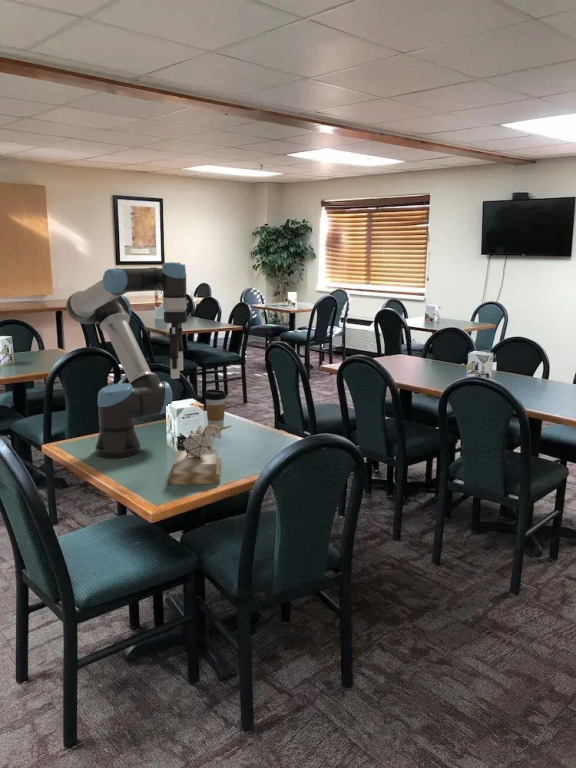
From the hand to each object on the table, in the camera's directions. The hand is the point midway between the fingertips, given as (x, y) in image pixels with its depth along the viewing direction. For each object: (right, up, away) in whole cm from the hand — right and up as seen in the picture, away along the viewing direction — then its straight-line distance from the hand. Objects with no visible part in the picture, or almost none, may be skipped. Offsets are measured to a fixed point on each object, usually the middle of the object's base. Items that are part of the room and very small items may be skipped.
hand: (177, 374), depth 207 cm
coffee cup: (+8, -21, +40) cm, 46 cm away
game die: (+8, -26, -13) cm, 31 cm away
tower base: (+8, -32, -12) cm, 35 cm away
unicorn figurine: (+12, -29, +5) cm, 31 cm away
